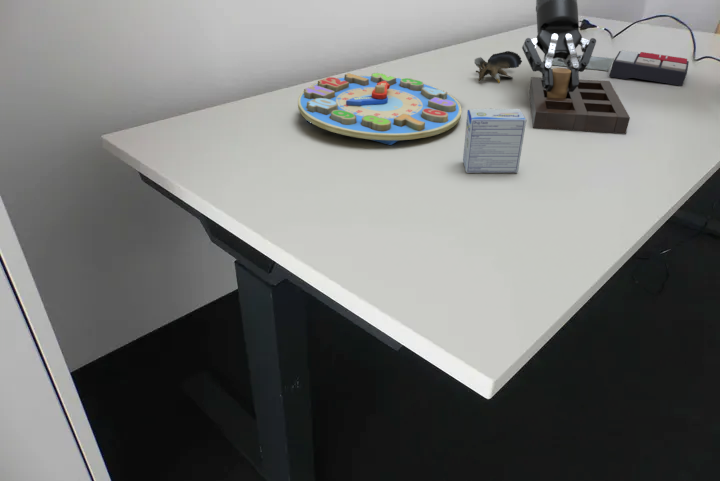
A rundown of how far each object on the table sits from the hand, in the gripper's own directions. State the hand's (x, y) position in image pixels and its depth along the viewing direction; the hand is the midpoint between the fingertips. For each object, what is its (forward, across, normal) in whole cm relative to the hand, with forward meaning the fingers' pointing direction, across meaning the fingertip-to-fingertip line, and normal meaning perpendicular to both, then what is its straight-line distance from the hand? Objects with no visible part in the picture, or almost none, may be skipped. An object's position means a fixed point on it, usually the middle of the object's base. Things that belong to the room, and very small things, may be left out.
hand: (561, 89), depth 101 cm
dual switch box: (-15, +27, +22) cm, 38 cm away
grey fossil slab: (-24, +10, +31) cm, 40 cm away
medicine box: (+21, -17, -15) cm, 31 cm away
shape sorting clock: (+6, -34, +1) cm, 35 cm away
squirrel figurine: (-12, -8, +19) cm, 24 cm away
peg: (+2, 0, +5) cm, 5 cm away
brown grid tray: (+2, +3, +4) cm, 6 cm away
